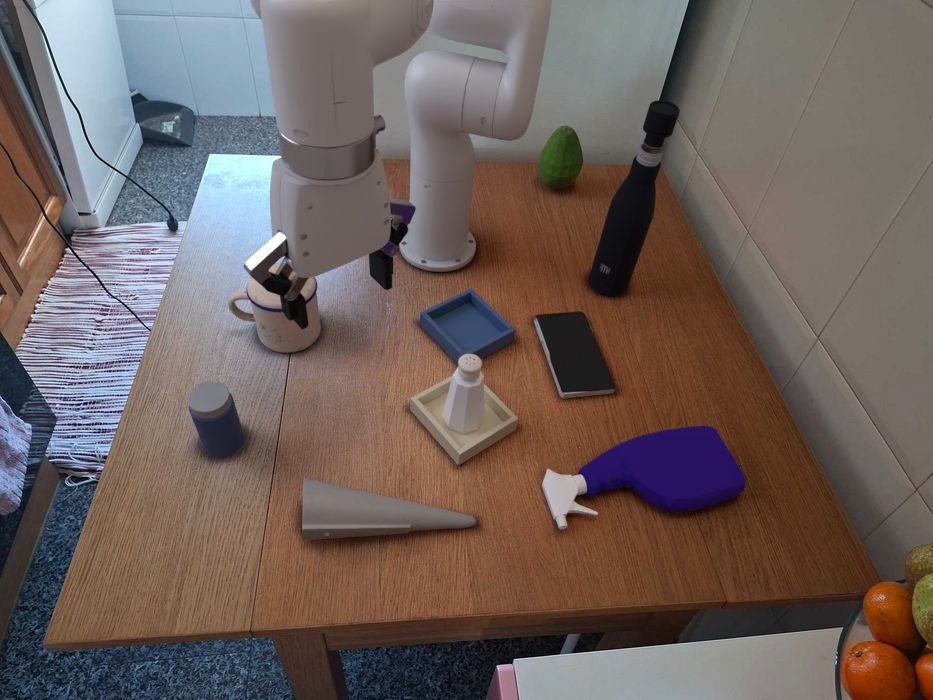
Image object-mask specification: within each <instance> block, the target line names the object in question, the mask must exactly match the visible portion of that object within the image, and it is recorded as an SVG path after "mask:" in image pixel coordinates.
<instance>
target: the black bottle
mask: <svg viewBox="0 0 933 700" xmlns="http://www.w3.org/2000/svg"><path fill="white" fill-rule="evenodd" d="M680 112H681V110H680V107H679V106H678V105H677V104H675V103H673V102H671V101H668V100H662V99H661V100H660V99H659V100H658V99H657V100H653V101H651V102H650V103H649V105H648V108H647V112H646V116H645V119H644V121H643V122H644V123H643V125H642V130H643V132H645V137H644V139H643V142H642V143H641V144H640V146H639V147H638V149H637V152H636V155H635V156H634V157H633V159H632V163H631V166H630V170H629V173H628V174H627V176H626V178H625V179H624V180H623V182H622V183H621V184H620V185H619V186H618V188H617V190H616V191H615V193H614V194H613V197H612V199H611V201H610V203H609V206H608V210H607V214H606V217H605V220H604V224H603V226H602V230H601V233H600V238H599V241H598V243H597V244H598V245H597V248H596V251H595V255H594V258H593V262H592V266H591V268H590V272H589V275H588V280H587V281H588V284H589V286H590V288H591V289H592V290H593V291H595V292H596V293H598V294H600V295H602V296H607V297H619V296H622V295H623V294H625V293H626V292H627V290H628V289H629V286H630V283H631V280H632V277H633V275H634V271H635V269H636V266H637V263H638V261H639V258H640V254H641V252H642V249H643V247H644V243H645V241H646V238H647V235H648V232H649V229H650V227H651V224H652V221H653V218H654V216H655V210H656V201H657V200H656V199H657V189H656V188H657V187H656V186H657V185H656V181H657V178H658V175H659V172H660V169H661V166H662V157H663V154H664V153H663V147H664V144H665V139H666V138H669V137H671V136H672V135H673V133H674V129H675V126H676V123H677V121H678V118H679V115H680Z"/></svg>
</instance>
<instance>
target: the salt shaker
mask: <svg viewBox="0 0 933 700" xmlns="http://www.w3.org/2000/svg"><path fill="white" fill-rule="evenodd" d="M457 365H458V366H457V368H456V369H455V370H454V373H453V374H452V375H453V377H452V380H451V384H450V388H449V392H448V395H447V399H446V403H445V407H444V411H443V415H442V416H443V418H444V420H445V423H446V425H447V427H448V428H449V429H451V430H454V431H456V432H459V433H461V434H465V433H468V432H472V431H476V430H478V429H479V427H480V425H481V423H482V421H483V419H484V384H485V376H484V374H483V372H482V371H481V370H482V366H483V360H482V359H480V358H479V357H478V356H477V355H474V354H465V355H463V356H461V357H460V358H459V360H458V363H457Z"/></svg>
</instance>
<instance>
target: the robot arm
mask: <svg viewBox="0 0 933 700" xmlns="http://www.w3.org/2000/svg"><path fill="white" fill-rule="evenodd" d="M249 2H250V5H251V7H252V9H253V11H254V13H255V14H256V16H257V17H258V18H259V19H260V20H261V24H262V30H263V38H264V45H265V52H266V60H267V67H268V71H269V72H268V74H269V79H270V80H269V81H270V87H271V94H272V101H273V108H274V116H275V123H276V128H277V138H278V143H279V150H280V151H279V153H280V157H279V158H277V159H275V160H274V161H272V164H271V172H270V182H269V183H270V184H269V213H270V228H271V239H269V241H267V242H266V243H264V245H263V246H261V247H260V248H259V249H258V250H257V251H256V252H255V253H254V254H252V256H251V257H249V258H248V259H247V260H246V261H245V262H244V263H243V269H244V270H245V272H247V274H248V275H249V276H250V278H251V277H252V278H253V279H255V280H256V281H257V282H258V283H259V284H260V285H262V286H263V287H264V288H265V289H266V290H267V291H268V292H271V293H274V294H277V295H280V300H281V306H282V311H283V313H284V315H285V317H286V318H287V319H288V320H289V321H291V320H294V321H295V322H296V324H297V325H298V326H299V327H300V328H301V329H302V330H303V329H305V328H307V326H308V325H309V323H308V316H307V309H306V301H305V298H304V296H303V295H302V294H301V293H300V292H301V290H302V289H303V287H304V285H305V284H306V282H307V280H308V279H309V278H310V277H317V276H320V275H323V274H325V273H328V272H331V271H334V270H336V269H337V268H341V267H343V266H345V265H347V264H349V263H353V262H354V261H357V260H359V259H361V258H364V257H366V256H368V267H369V275H370V278H371V279H373V280H374V282H376V283H377V284H378V285H379V286H380V287H381V288H382V289H383V290H386V291H389V290H392V289H393V275H394V257H396V256H398V254H399V253H400V254H401V255H402V257H403V258H404V259H405V261H407V263H409V264H411V265H412V266H414V267H416V268H418V269H420V270H424V271H429V272H435V273H436V272H437V273H444V272H445V273H446V272H453V271H455V270H459V269H461V268H463V267H465V266H466V265H468V264H469V263H470V262H471V261H472V260H473V258H474V257H475V254H476V249H477V243H476V242H477V241H476V239H475V237H474V235H473V234H472V233H471V231H470V230H469V227H470V217H471V216H470V215H471V206H472V196H473V187H474V177H475V167H476V151H475V146H474V143H473V141H472V138H471V136H470V135H475V136H479V137H485V138H488V139H493V140H494V139H495V140H499V141H507V142H508V141H509V142H511V141H512V142H513V141H516V140H519V139H521V138H522V137H523V136H524V135H525V134H526V132H527V131H528V128H529V125H530V123H531V119H532V116H533V112H534V107H535V103H536V97H537V91H538V86H539V81H540V76H541V71H542V65H543V61H544V54H545V50H546V43H547V39H548V33H549V27H550V21H551V14H552V2H553V0H249ZM428 29H429V31H430V32H431V33H432V34H434V35H435V36H437V37H439V38H442V39H446V40H448V41H453V42H457V43H461V44H467V45H471V46H476V47H482V48H487V49H491V50H498V51H501V52H502V53H503V54H504V56H505V59H506V62H502V61H499V60H498V61H497V60H493V59H487V58H483V57H478V56H474V55H469V54H463V53H459V52H458V53H457V52H454V51H446V50H427V51H423V52H421V53H419V54H417V55H415V56H414V57H413V58H412V60H411V61H410V62H409V64H408V66H407V69H406V71H405V76H404V89H403V90H404V99H405V105H406V111H407V117H408V125H409V126H408V127H409V138H410V139H409V141H410V147H409V149H410V151H409V152H410V155H409V156H410V157H409V158H410V159H409V160H410V162H409V200H408V199H406V198H398V197H391V196H390V192H389V186H388V179H387V175H386V171H385V167H384V163H383V159H382V156H381V153H380V151H379V149H378V148H377V137H376V136H377V135H379V133H380V132H384V131H385V130H386V122H385V118H384V117H383V115H381V114H376V115H375V101H374V99H375V97H374V69H375V67H377V66H379V65H381V64H383V63H386V62H387V61H390V60H392V59H395V58H396V57H398V56H401V55H402V54H404V53H405V52H408V51H409V50H410V49H412V48H413V46H414V45H415V44H416V43H417V42H418V41H419V40H420V39H421V37H422V36H423V35H424V34H425V33H426V31H427V30H428ZM391 216H393V218H392V217H391ZM281 258H282V260H281ZM279 260H281V261H280V262H281V264H280V266H279V268H278V269H277V271H276V273H272V272H269V269H270V268H271V267H272V266H273V265H274V264H275V263H278V261H279ZM293 270H294V271H295V272H296V273H295V275H294V276H293V278H292V280H290V279H288V278H289V276H290V275H291V273H292V271H293Z"/></svg>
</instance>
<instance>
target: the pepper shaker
mask: <svg viewBox="0 0 933 700" xmlns="http://www.w3.org/2000/svg"><path fill="white" fill-rule="evenodd" d="M187 404H188V412H189V415H190V416H191V419H192V422H193V424H194V427H195V430H196V432H197V434H198V438H199V441H200V442H201V444H202V447H203V450H204V452H205V453H206V454H207V455H208V456H210V457H212V458H216V459H225V458H229V457H232V456H234V455H236V454H237V453H238V452H239V451H240V450H242V448H243V446H244V444H245V439H246V435H245V433H244V430H243V425H242V423H241V420H240V417H239V413H238V410H237V406H236V403H235V400H234V397H233V395H232V393H231V392H230V390H229V388H228V386H227V385H226V384H225V383H223V382H220V381H216V380H207V381H203V382H201V383H199V384H197V385H195V386H194V387H193V388H192V389H191V390H190V391H189V393H188V396H187Z"/></svg>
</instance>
